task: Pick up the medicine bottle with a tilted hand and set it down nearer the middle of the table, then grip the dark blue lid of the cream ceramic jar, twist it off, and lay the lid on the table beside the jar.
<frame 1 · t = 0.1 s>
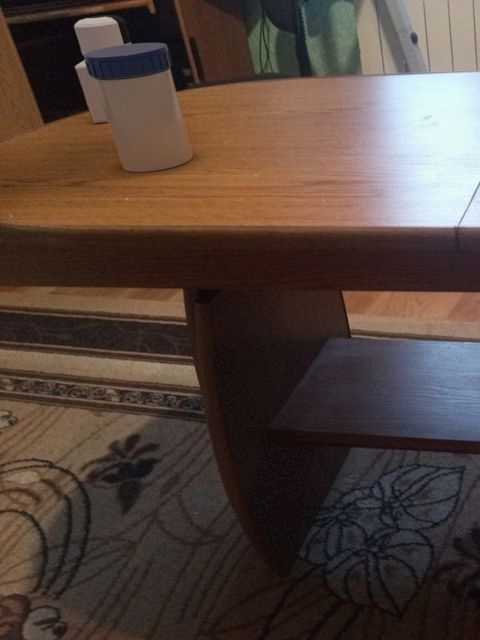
jar lid: (127, 54, 72), point 11 cm above the table, screwed on, not yet turned
jar: (158, 161, 78), on the table
medicine bottle: (127, 116, 98), on the table
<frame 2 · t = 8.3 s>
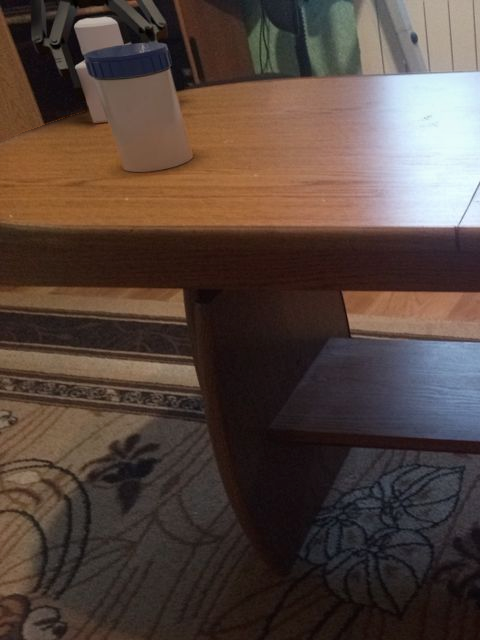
hand: (120, 88, 93), 4 cm above the table, tool tilted 45°, fingers closed on medicine bottle, 9 cm apart
medicine bottle: (127, 116, 98), on the table, touching gripper
everything else where it was.
when the fingers open (4 cm above the table, at t = 15.6 s): medicine bottle stays where it is, on the table.
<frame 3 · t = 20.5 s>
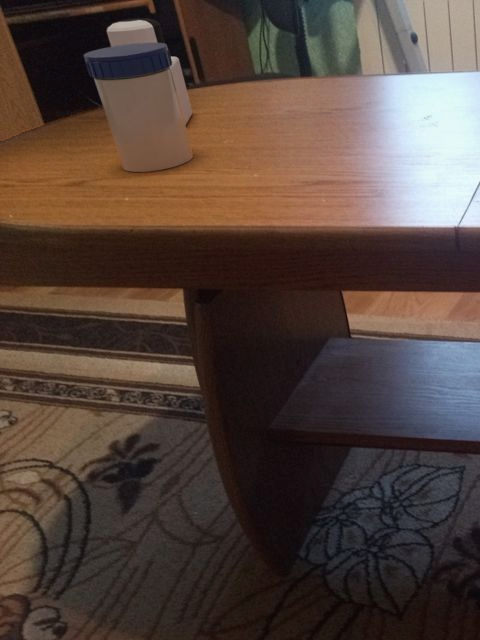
medicine bottle: (161, 125, 92), on the table
everything else where it was.
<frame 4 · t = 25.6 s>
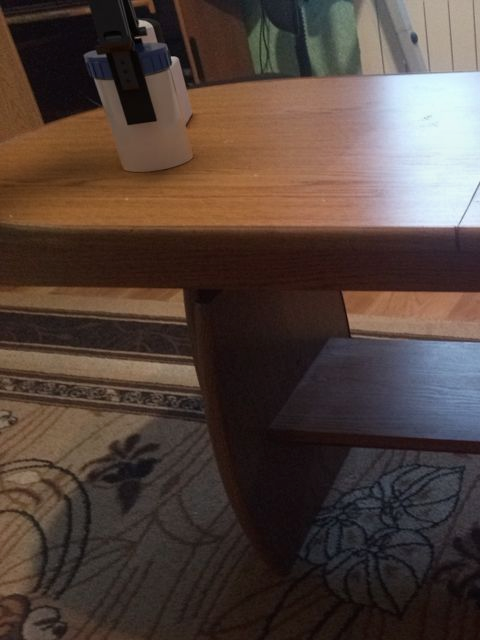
hand: (144, 113, 75), 5 cm above the table, tool pointing down, fingers closed on jar lid, 8 cm apart
jar lid: (127, 54, 72), point 11 cm above the table, screwed on, not yet turned, touching gripper
everything else where it was.
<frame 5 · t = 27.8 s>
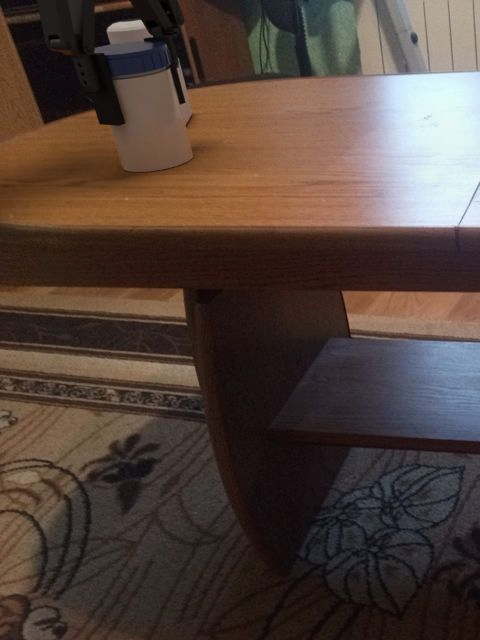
hand: (144, 112, 75), 5 cm above the table, tool pointing down, fingers closed on jar lid, 8 cm apart
jar lid: (126, 52, 72), point 11 cm above the table, off its thread, touching gripper
everything else where it was.
when the fingers open (0 cm above the table, at t = 36.4 s): jar lid drops 5 cm, point 1 cm above the table.
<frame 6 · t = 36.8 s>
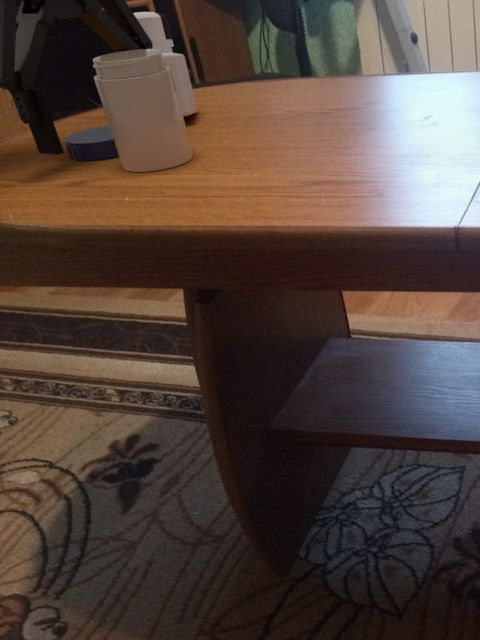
hand: (101, 135, 82), 2 cm above the table, tool pointing down, fingers open, 13 cm apart
jar lid: (102, 137, 82), point 1 cm above the table, off its thread
medicine bottle: (166, 119, 92), on the table
everything else where it was.
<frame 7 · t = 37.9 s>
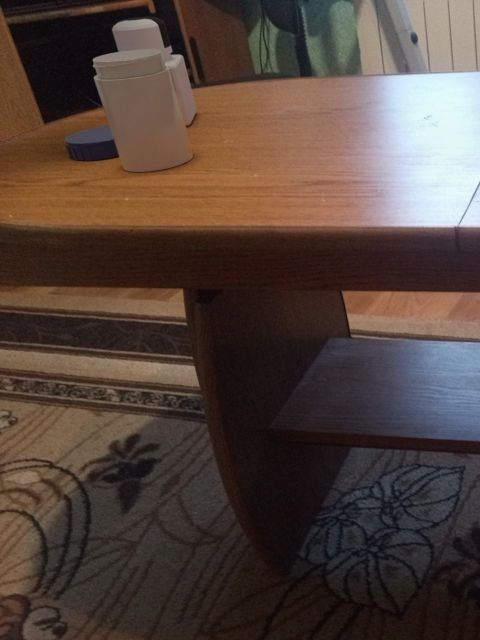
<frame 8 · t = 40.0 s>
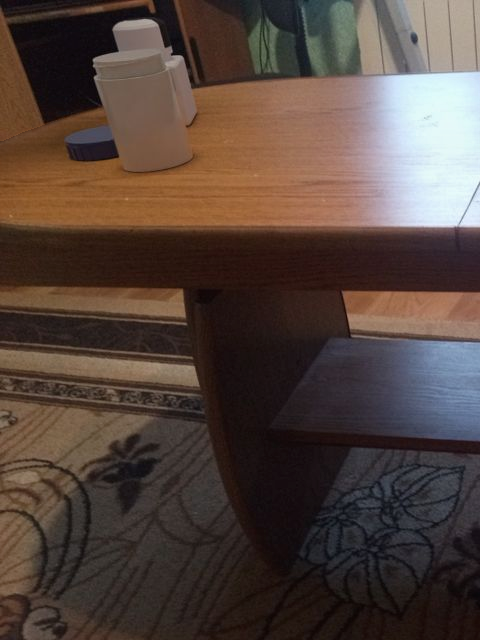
at the end: medicine bottle inside the target area (0.9 cm from its centre), on the table; jar lid point 1.5 cm above the table; the gripper is holding nothing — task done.
